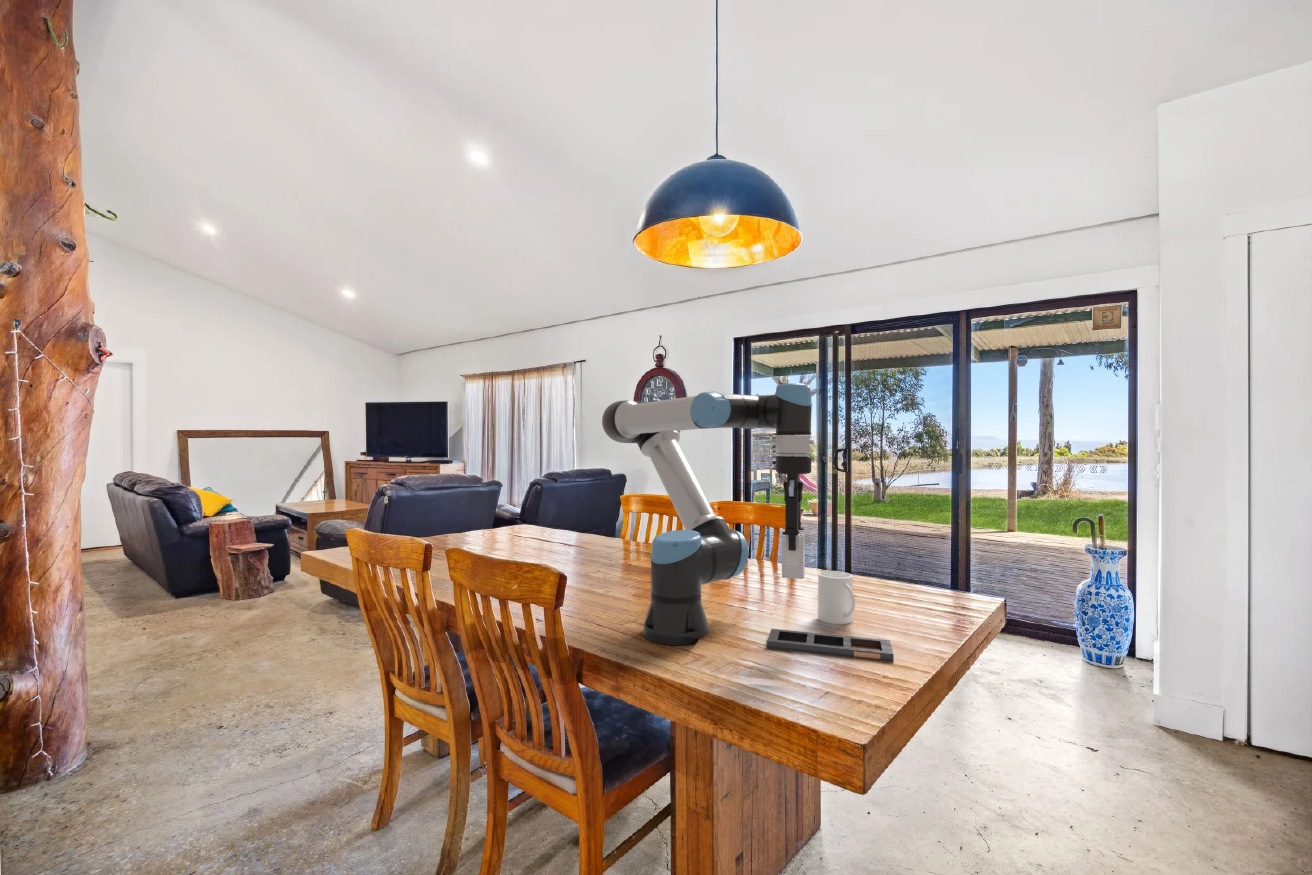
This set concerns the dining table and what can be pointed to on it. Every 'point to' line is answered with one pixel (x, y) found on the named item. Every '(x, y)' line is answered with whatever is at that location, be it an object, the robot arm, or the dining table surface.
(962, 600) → the dining table surface
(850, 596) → the mug
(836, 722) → the dining table surface
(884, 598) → the dining table surface
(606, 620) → the dining table surface
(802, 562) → the grey block with knob
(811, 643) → the tray with compartments
